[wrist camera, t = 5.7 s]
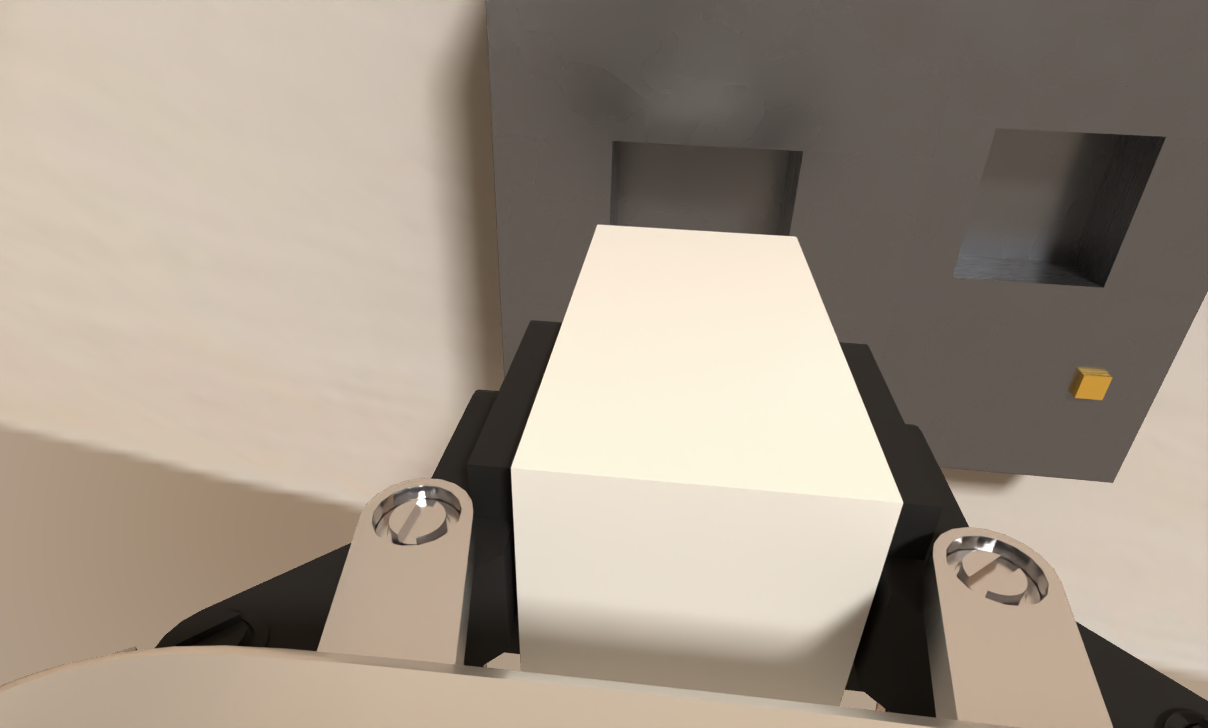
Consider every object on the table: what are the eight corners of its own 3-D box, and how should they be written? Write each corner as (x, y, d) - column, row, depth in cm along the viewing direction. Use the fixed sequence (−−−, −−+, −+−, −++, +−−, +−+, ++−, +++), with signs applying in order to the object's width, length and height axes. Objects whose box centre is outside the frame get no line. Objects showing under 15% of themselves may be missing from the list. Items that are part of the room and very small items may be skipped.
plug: (597, 224, 14) (511, 467, 7) (796, 236, 14) (903, 502, 7) (592, 408, 16) (523, 728, 10) (764, 422, 16) (821, 763, 9)
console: (547, -180, 23) (469, -261, 15) (1325, -169, 21) (1713, -257, 13) (553, 384, 34) (509, 511, 26) (1068, 427, 32) (1192, 580, 24)
